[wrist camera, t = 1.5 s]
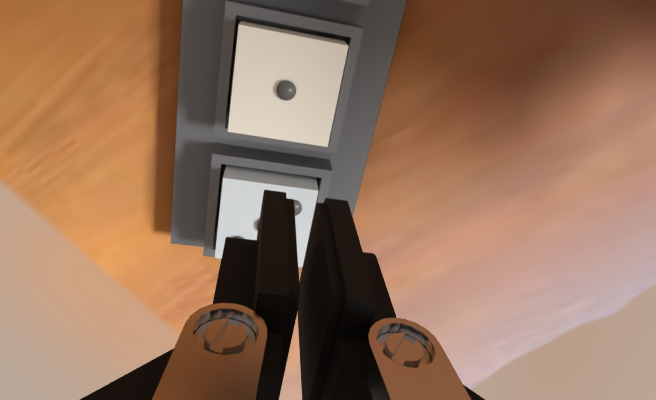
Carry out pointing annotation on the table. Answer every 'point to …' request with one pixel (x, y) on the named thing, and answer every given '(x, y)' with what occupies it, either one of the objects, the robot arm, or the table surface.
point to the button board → (266, 153)
